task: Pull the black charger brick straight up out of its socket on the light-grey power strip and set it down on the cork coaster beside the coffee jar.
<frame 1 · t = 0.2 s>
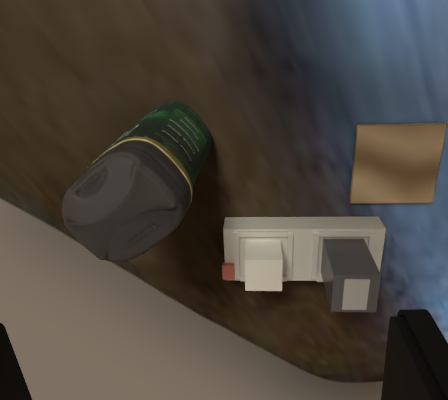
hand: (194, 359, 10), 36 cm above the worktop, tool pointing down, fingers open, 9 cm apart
charger: (341, 255, 47), point 3 cm above the worktop, touching power strip
coffee jar: (168, 141, 46), on the worktop
power strip: (299, 242, 50), on the worktop
coaster: (394, 163, 45), on the worktop
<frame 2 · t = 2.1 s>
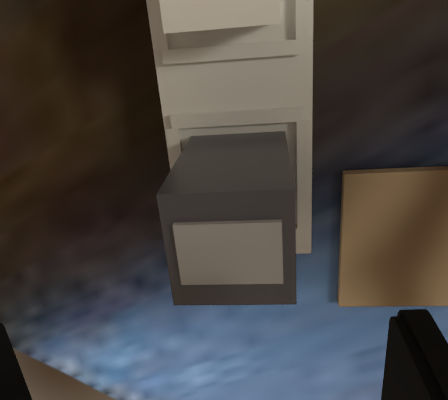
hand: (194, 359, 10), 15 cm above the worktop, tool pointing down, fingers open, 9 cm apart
charger: (240, 177, 20), point 3 cm above the worktop, touching power strip
power strip: (238, 75, 21), on the worktop
coaster: (417, 238, 24), on the worktop
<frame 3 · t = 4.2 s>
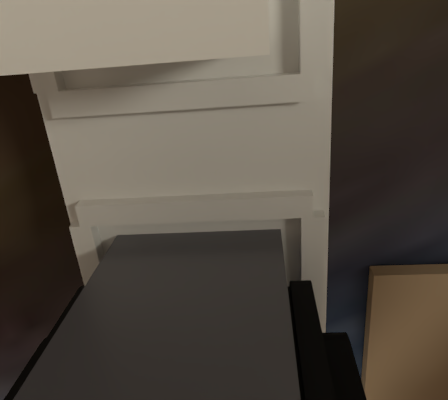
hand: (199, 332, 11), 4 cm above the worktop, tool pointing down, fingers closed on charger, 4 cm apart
charger: (205, 299, 12), point 3 cm above the worktop, touching gripper, power strip
power strip: (202, 123, 13), on the worktop
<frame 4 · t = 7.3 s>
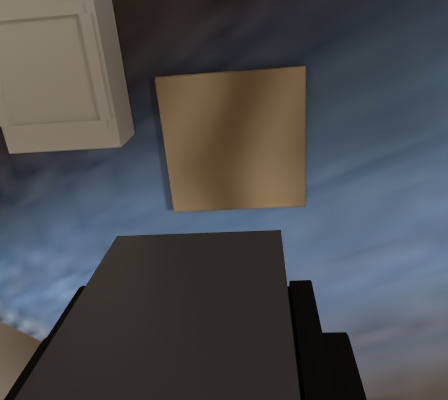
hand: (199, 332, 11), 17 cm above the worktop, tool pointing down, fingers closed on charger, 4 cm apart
charger: (205, 300, 12), point 16 cm above the worktop, touching gripper
coaster: (234, 142, 27), on the worktop
when the fingers open (3 cm above the worktop, at t = 10.6 s): charger stays where it is, resting on coaster.
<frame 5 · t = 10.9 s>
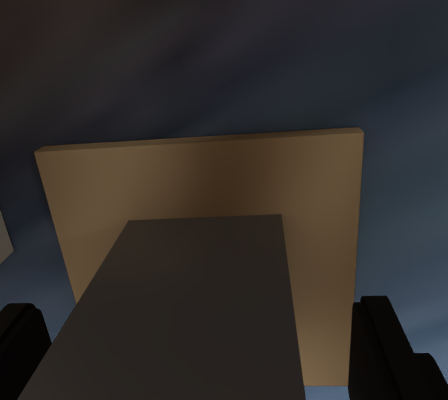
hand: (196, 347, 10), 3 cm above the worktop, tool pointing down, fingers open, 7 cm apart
charger: (210, 281, 13), point 1 cm above the worktop, touching coaster
coaster: (210, 270, 13), on the worktop
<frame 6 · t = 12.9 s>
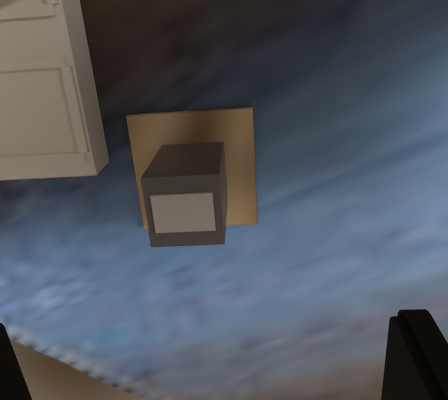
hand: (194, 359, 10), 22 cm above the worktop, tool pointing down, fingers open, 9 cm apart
charger: (195, 172, 31), point 1 cm above the worktop, touching coaster
power strip: (35, 38, 28), on the worktop
coaster: (195, 170, 31), on the worktop
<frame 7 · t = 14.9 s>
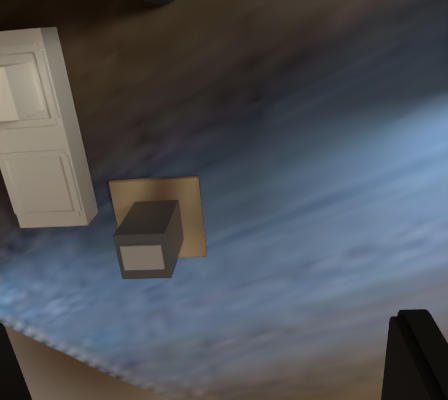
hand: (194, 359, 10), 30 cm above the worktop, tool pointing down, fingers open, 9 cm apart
charger: (159, 220, 42), point 1 cm above the worktop, touching coaster
power strip: (44, 130, 40), on the worktop
coaster: (160, 218, 43), on the worktop
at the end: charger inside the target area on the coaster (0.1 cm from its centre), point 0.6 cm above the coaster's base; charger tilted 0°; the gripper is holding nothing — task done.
